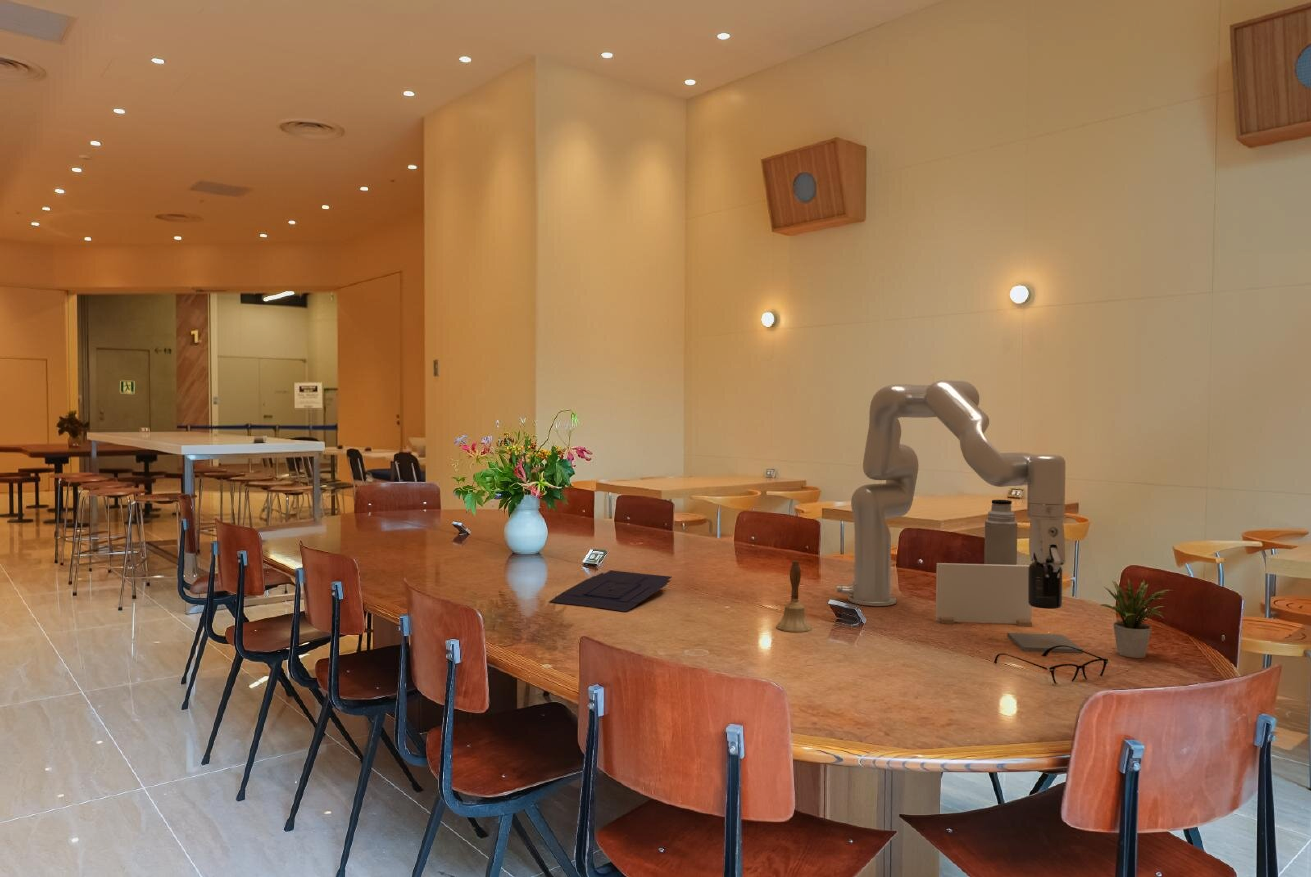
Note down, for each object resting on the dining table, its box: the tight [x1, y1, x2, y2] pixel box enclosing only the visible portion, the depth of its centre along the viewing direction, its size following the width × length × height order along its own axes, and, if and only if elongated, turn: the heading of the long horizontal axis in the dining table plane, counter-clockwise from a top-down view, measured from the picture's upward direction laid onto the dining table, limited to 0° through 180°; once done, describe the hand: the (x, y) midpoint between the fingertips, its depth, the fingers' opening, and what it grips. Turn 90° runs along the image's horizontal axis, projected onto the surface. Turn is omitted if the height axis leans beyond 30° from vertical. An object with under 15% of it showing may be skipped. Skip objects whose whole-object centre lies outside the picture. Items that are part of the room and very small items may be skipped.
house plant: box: [1099, 576, 1174, 659], centre depth 178 cm, size 14×14×16 cm
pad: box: [1006, 632, 1083, 654], centre depth 187 cm, size 12×12×1 cm
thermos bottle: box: [983, 499, 1018, 565], centre depth 224 cm, size 8×8×28 cm
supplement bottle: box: [1028, 552, 1063, 610], centre depth 186 cm, size 7×7×12 cm
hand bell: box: [775, 560, 813, 633], centre depth 200 cm, size 8×8×16 cm
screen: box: [935, 562, 1033, 627], centre depth 207 cm, size 22×6×14 cm, turn 83°
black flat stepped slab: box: [548, 570, 672, 613], centre depth 234 cm, size 24×30×4 cm
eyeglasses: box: [993, 645, 1110, 685], centre depth 169 cm, size 16×16×4 cm
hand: (1044, 591), depth 187 cm, fingers closed on supplement bottle, 6 cm apart
